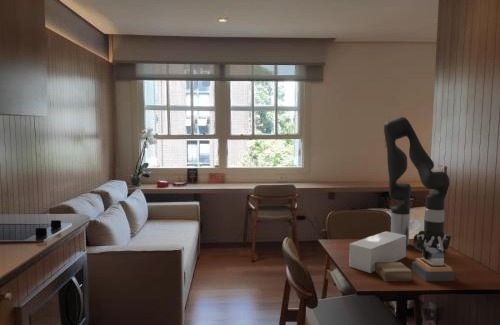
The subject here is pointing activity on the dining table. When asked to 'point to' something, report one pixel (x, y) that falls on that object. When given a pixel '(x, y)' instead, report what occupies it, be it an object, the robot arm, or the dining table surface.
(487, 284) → the dining table surface
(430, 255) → the block
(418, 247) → the crystal cluster
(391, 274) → the walnut stand
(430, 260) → the housing base plate
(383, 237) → the long white block
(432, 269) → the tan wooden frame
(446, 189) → the robot arm
